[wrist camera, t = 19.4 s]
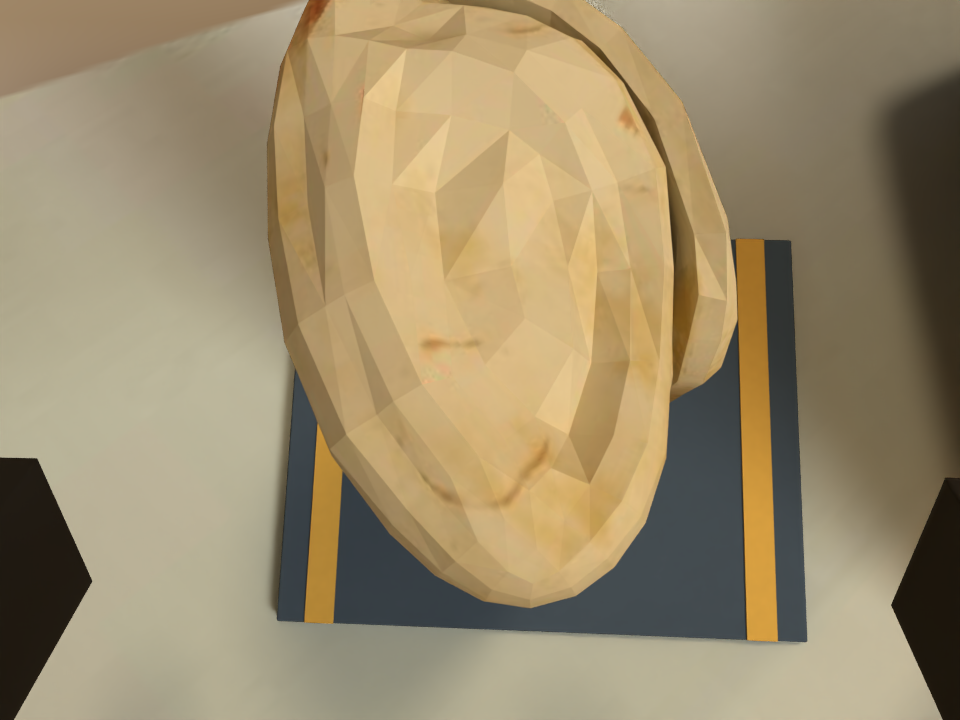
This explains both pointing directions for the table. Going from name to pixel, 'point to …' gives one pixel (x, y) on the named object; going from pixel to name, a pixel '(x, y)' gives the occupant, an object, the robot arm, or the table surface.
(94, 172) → the table surface
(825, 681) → the table surface
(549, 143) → the food model
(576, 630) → the towel
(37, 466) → the robot arm
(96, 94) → the table surface
